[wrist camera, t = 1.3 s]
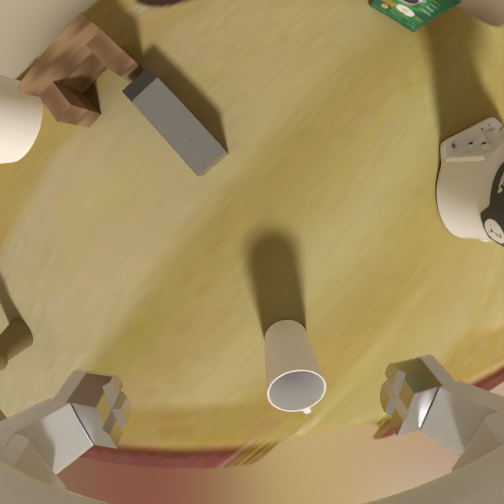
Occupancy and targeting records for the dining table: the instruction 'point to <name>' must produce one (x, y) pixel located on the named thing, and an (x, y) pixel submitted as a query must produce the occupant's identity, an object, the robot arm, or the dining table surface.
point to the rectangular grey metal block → (175, 122)
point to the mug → (292, 368)
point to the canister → (17, 120)
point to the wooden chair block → (76, 71)
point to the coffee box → (413, 10)
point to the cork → (14, 341)
